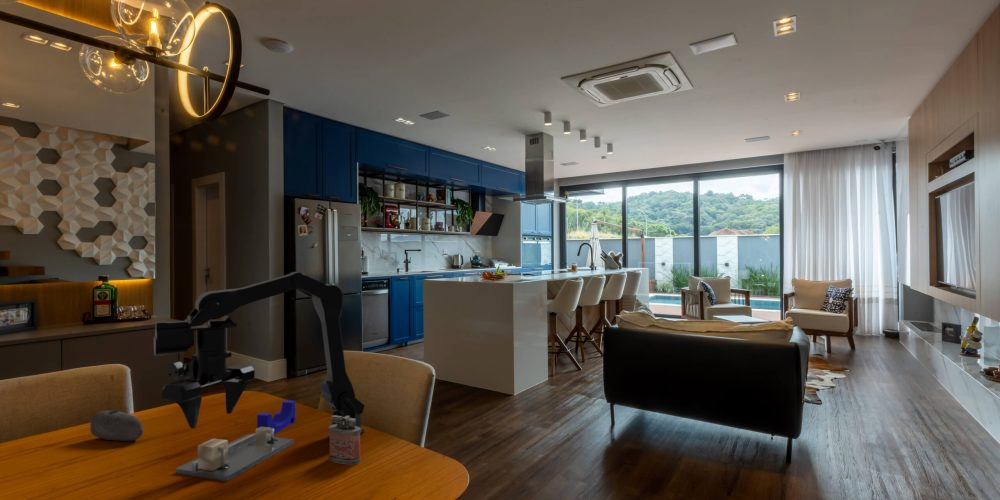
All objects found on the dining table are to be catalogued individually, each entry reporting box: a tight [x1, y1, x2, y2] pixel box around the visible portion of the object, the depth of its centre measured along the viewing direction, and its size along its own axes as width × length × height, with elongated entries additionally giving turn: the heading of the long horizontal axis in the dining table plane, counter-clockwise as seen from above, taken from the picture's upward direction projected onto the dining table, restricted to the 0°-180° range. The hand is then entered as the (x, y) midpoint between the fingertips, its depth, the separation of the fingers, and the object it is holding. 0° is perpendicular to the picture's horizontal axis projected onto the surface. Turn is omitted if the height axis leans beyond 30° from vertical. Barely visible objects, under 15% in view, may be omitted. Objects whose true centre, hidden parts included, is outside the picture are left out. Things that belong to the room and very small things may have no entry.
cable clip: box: [256, 400, 296, 435], centre depth 127 cm, size 12×4×6 cm, turn 171°
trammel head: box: [197, 438, 229, 471], centre depth 102 cm, size 5×4×5 cm
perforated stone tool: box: [89, 409, 145, 442], centre depth 121 cm, size 15×5×7 cm, turn 74°
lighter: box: [328, 414, 362, 465], centre depth 107 cm, size 8×3×10 cm, turn 71°
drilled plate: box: [175, 427, 295, 482], centre depth 109 cm, size 14×20×4 cm
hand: (211, 420), depth 102 cm, fingers open, 9 cm apart
